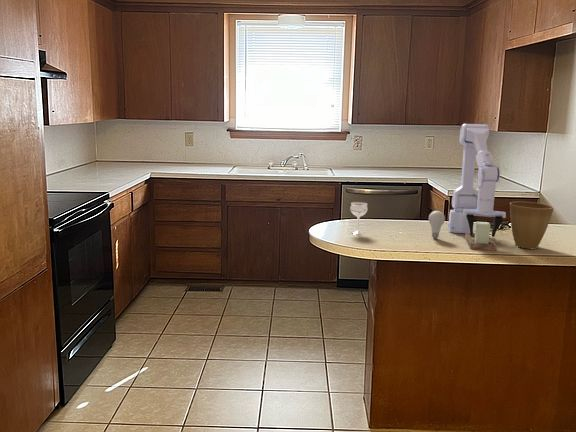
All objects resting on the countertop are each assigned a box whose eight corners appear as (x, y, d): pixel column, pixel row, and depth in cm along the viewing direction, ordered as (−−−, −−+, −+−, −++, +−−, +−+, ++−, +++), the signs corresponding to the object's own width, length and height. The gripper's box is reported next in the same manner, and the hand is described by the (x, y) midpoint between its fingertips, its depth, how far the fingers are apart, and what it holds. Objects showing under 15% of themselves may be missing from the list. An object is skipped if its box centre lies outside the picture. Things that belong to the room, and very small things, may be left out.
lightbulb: (432, 235, 219) (434, 208, 217) (446, 238, 215) (448, 211, 213) (423, 238, 215) (426, 210, 213) (437, 241, 211) (440, 213, 208)
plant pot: (553, 253, 198) (559, 209, 195) (510, 250, 201) (515, 207, 197) (541, 243, 213) (546, 202, 210) (501, 240, 215) (505, 200, 212)
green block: (475, 247, 203) (477, 224, 201) (473, 245, 207) (476, 221, 205) (488, 248, 202) (490, 224, 200) (486, 245, 206) (488, 222, 204)
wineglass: (358, 235, 216) (359, 205, 213) (345, 232, 221) (346, 202, 218) (369, 233, 220) (371, 203, 218) (356, 230, 225) (358, 201, 223)
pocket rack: (470, 248, 201) (470, 243, 201) (464, 237, 218) (465, 232, 217) (495, 250, 200) (495, 245, 199) (487, 239, 216) (488, 234, 216)
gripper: (466, 199, 198) (462, 236, 201) (509, 202, 196) (504, 239, 198) (464, 196, 205) (460, 232, 208) (505, 198, 202) (501, 235, 205)
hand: (482, 235), depth 204 cm, fingers open, 7 cm apart
